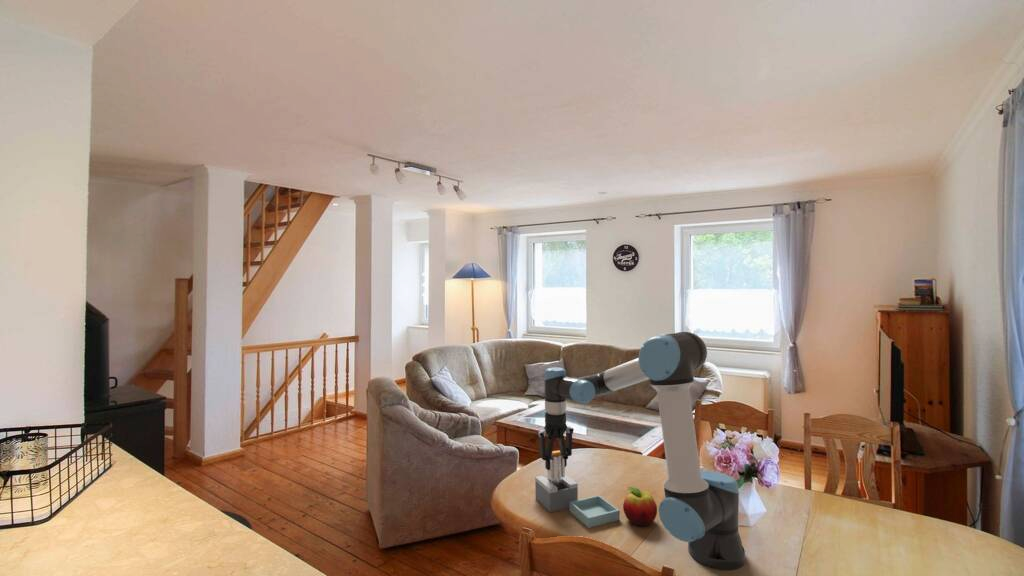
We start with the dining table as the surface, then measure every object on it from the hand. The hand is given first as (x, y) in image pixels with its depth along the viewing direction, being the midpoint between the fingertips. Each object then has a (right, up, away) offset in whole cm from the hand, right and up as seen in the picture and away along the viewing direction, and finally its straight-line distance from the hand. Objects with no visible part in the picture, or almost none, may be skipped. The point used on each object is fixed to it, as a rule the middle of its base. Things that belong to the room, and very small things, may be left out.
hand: (556, 476), depth 171 cm
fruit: (+26, -10, -13) cm, 31 cm away
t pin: (0, -9, 0) cm, 9 cm away
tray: (+12, -9, -9) cm, 18 cm away
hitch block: (0, -9, 0) cm, 9 cm away
